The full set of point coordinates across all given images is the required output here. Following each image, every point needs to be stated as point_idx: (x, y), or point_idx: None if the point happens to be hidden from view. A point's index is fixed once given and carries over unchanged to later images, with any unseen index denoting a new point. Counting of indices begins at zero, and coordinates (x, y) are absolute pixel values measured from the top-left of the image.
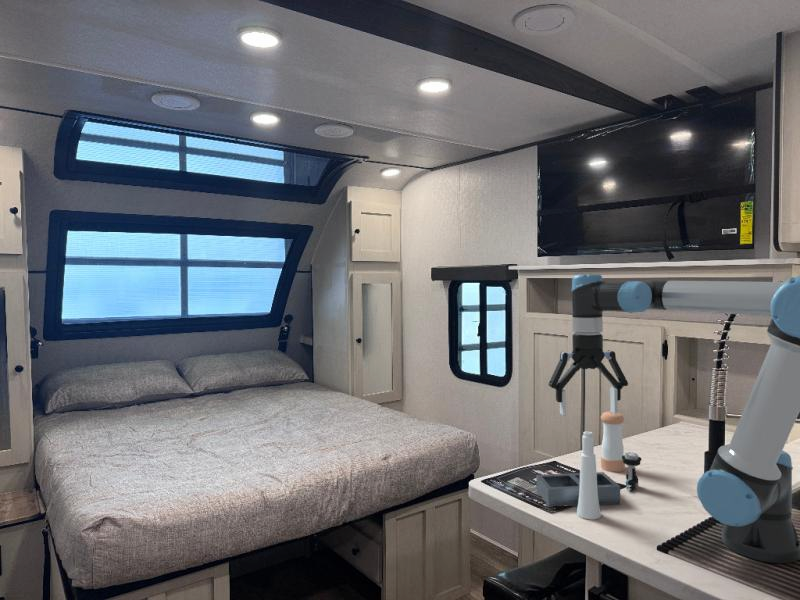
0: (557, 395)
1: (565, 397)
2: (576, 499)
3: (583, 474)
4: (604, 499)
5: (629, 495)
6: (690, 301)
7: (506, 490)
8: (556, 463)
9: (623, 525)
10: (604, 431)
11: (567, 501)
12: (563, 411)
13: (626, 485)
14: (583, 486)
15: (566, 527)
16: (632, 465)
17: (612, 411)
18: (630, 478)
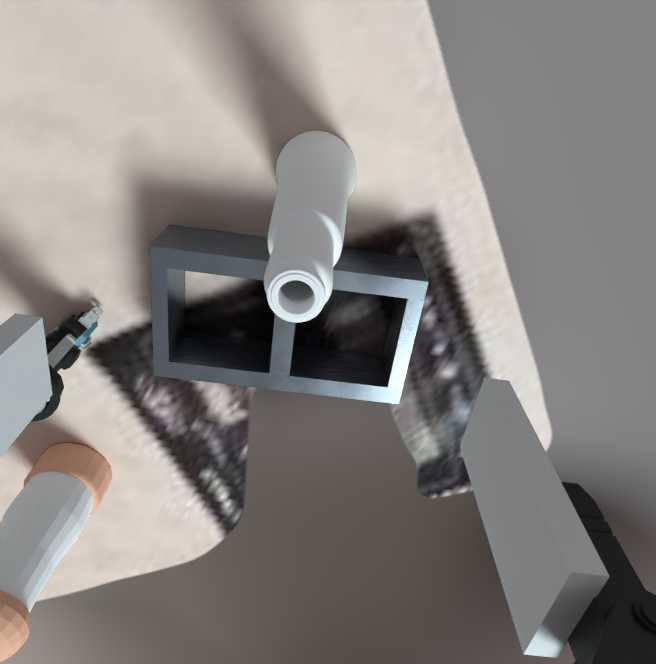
0: (619, 548)
1: (539, 500)
2: None
3: (342, 200)
4: (221, 238)
5: (107, 282)
6: None
7: None
8: (233, 528)
9: (237, 60)
10: (44, 576)
11: (354, 255)
12: (515, 401)
13: (93, 330)
14: (343, 185)
15: (444, 96)
16: None
17: (42, 363)
18: (68, 339)
